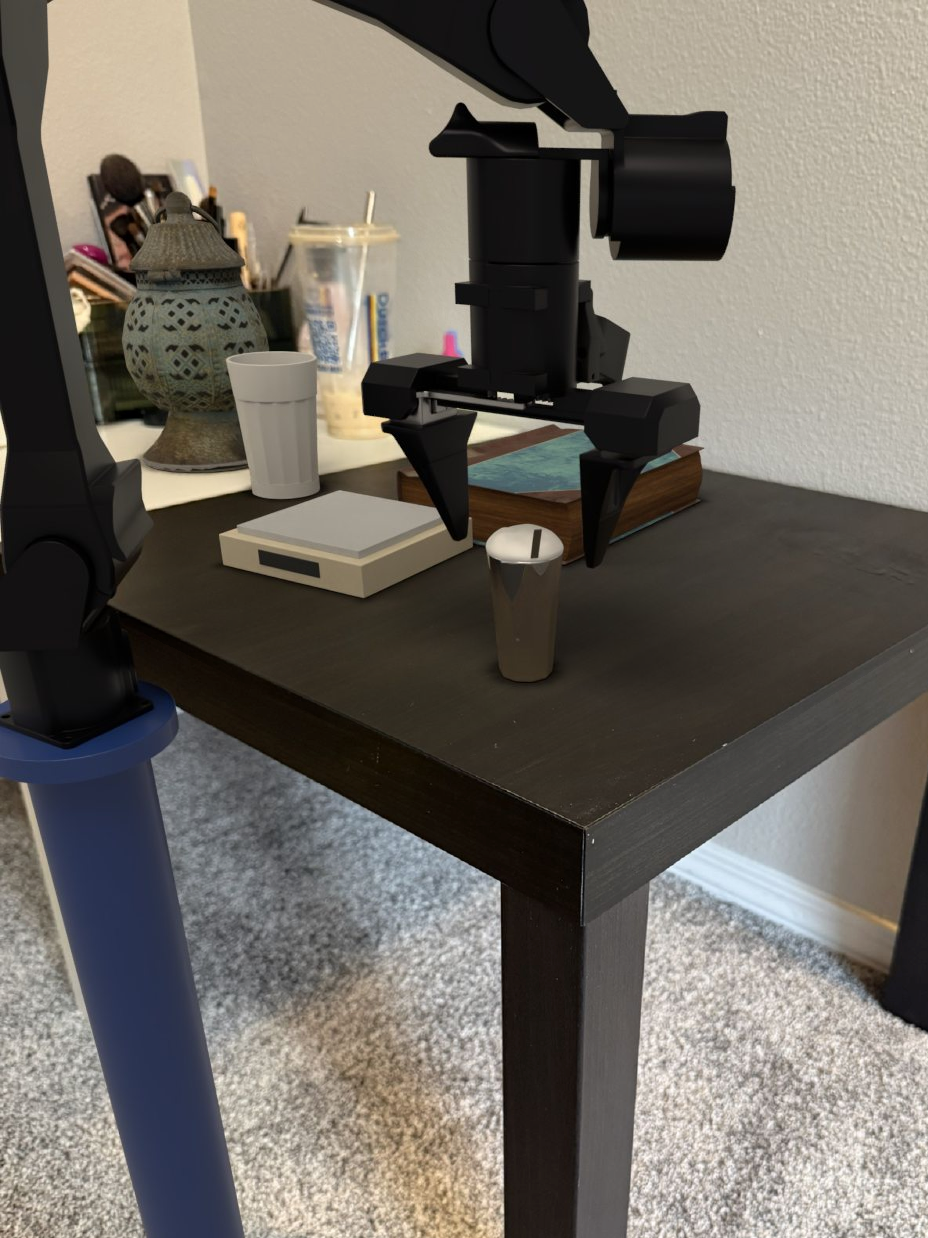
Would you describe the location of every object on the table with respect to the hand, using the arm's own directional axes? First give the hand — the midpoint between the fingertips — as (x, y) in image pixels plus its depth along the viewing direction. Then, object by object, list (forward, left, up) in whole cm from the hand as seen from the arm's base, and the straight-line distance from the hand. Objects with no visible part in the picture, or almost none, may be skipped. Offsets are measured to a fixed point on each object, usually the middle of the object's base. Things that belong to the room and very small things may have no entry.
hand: (524, 552), depth 63 cm
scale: (+12, +24, -8) cm, 28 cm away
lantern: (+30, +58, -8) cm, 66 cm away
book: (+31, +16, -8) cm, 36 cm away
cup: (+24, +42, -8) cm, 49 cm away
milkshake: (0, 0, -8) cm, 8 cm away
